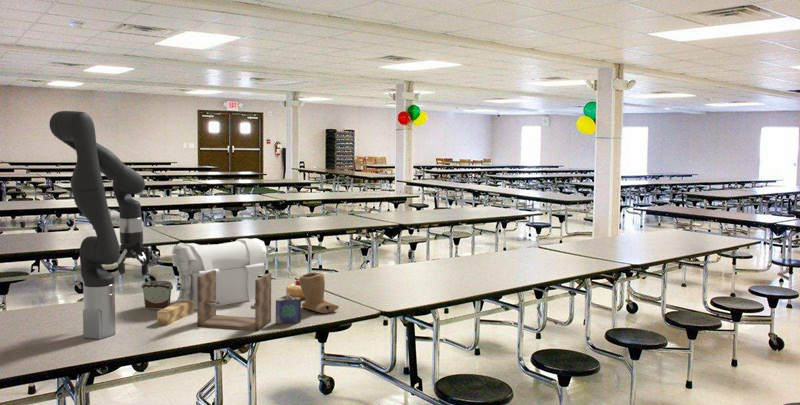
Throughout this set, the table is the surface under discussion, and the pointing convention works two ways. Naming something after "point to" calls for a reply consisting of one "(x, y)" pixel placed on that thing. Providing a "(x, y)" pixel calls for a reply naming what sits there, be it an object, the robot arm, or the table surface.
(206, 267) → the chest
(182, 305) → the shelf board
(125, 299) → the table surface
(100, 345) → the table surface
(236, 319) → the shelf rack
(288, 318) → the flask
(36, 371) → the table surface
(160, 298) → the food container
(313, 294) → the tan ankle boot
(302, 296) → the pastry
